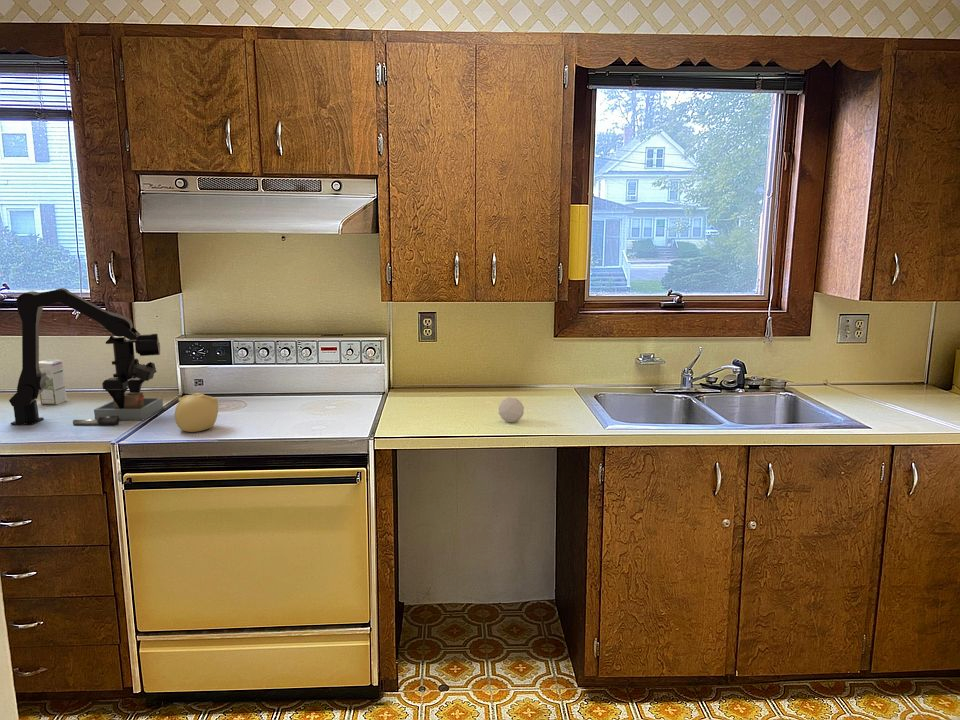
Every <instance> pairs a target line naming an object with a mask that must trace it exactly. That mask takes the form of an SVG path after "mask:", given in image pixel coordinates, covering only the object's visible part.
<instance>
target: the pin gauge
mask: <svg viewBox="0 0 960 720" xmlns="http://www.w3.org/2000/svg"><path fill="white" fill-rule="evenodd" d="M119 424H120V420H119V417H118V416H100V417H99V419H98V420H95V419H73V420H72V425H73V426H118V425H119Z"/></svg>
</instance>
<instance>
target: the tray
mask: <svg viewBox="0 0 960 720" xmlns="http://www.w3.org/2000/svg"><path fill="white" fill-rule="evenodd" d="M163 409H164V402H163V397H144V407H142V408H141V409H114V401H113V400H110V401H109V402H107V403H104V404H103V405H101V406H98V407H96V408H94V409H93V414H94V420H98V419H99V417H100V416H118V417H119V421H144V420H146V419H148V418H149V417H151V416H152V415H155V414H156V413H158V412H159V411H161V410H163ZM145 418H146V419H145ZM143 419H144V420H143Z"/></svg>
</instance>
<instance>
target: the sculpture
mask: <svg viewBox="0 0 960 720" xmlns="http://www.w3.org/2000/svg"><path fill="white" fill-rule="evenodd" d="M218 414H219V400H218V398H217V397H213V396H210V395H205V394H204V393H202V392H195V393H193V394H186V395H185V394H184V396H182V397H180V398H178V403H177V405H176V407H175V410H174V420H175V424H176V426H177V427H178V428H179V429H180V430H182V431H184V432H187V433H189V432H190V433H194V432H195V433H196V432H201V431H205V430H208V429H211V428H213V427H214V425H215V423H216V421H217V418H218Z"/></svg>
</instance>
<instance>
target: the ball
mask: <svg viewBox="0 0 960 720" xmlns="http://www.w3.org/2000/svg"><path fill="white" fill-rule="evenodd" d="M524 412H525V406H524V405H523V403H522V402H521V401H520V400H519V399H518V398H517V397H509V396H508V397H506V398H505V399H503V400H502V401H501V402H500V404H499V406H498V415H499V417H500V418H501V420H503V421H504V422H506V423H512V424H514V423H516V422H518V421H520V420H521V419H522V417H523V416H524Z"/></svg>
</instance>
